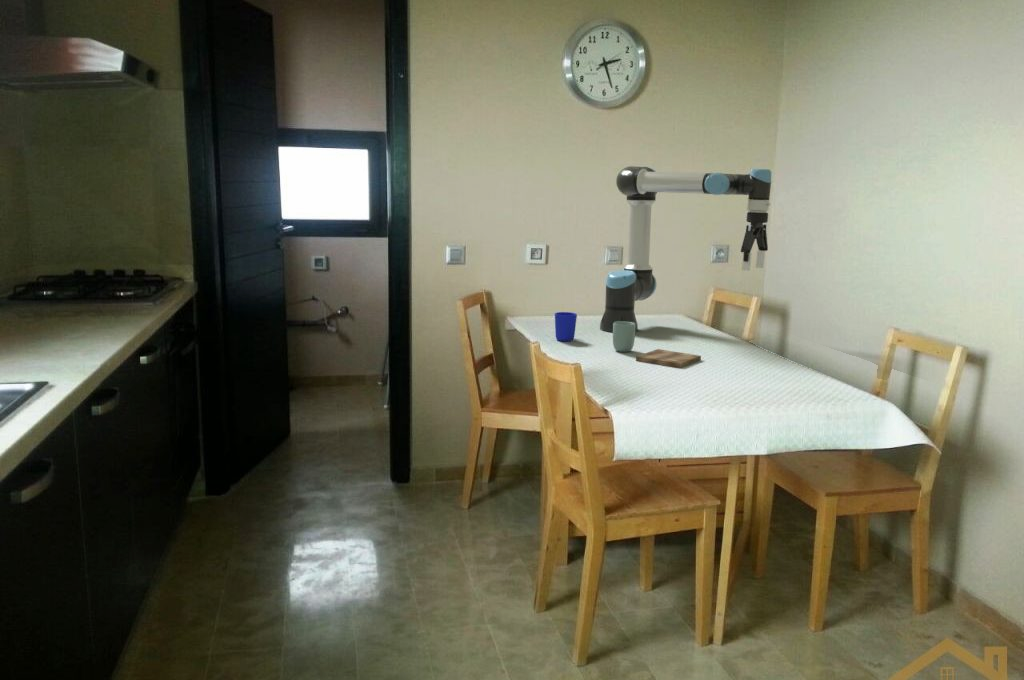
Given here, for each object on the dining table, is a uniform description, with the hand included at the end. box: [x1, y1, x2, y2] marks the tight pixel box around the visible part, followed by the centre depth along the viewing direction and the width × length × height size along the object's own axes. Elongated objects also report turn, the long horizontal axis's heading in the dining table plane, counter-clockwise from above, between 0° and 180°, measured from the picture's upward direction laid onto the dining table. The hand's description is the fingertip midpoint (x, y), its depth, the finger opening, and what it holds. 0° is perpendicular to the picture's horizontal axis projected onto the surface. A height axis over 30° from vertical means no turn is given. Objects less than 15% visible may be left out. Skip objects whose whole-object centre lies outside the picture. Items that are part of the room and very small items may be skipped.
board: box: [635, 348, 702, 369], centre depth 268 cm, size 16×16×2 cm
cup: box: [612, 321, 636, 353], centre depth 281 cm, size 8×8×10 cm
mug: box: [554, 311, 578, 342], centre depth 300 cm, size 8×12×10 cm
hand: (752, 269), depth 299 cm, fingers open, 13 cm apart
